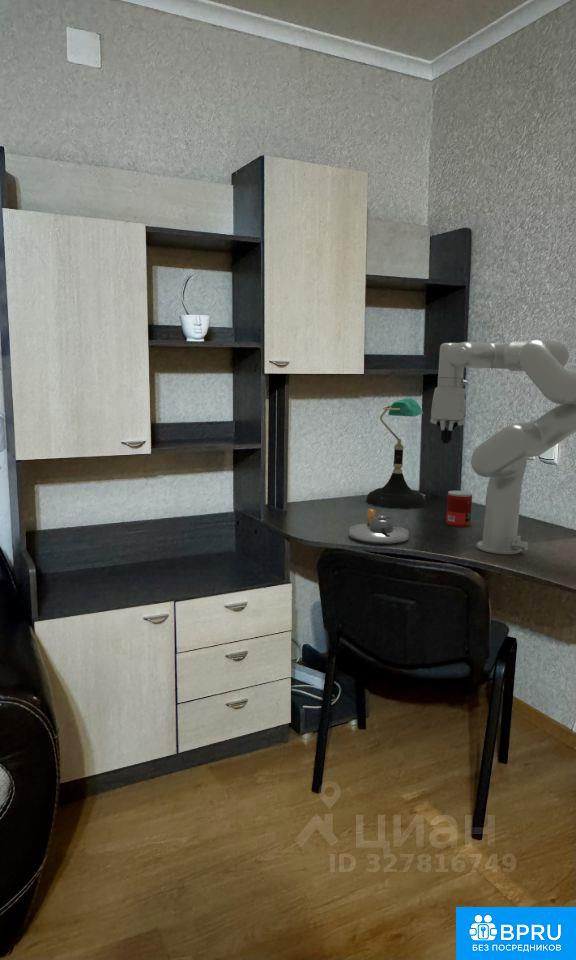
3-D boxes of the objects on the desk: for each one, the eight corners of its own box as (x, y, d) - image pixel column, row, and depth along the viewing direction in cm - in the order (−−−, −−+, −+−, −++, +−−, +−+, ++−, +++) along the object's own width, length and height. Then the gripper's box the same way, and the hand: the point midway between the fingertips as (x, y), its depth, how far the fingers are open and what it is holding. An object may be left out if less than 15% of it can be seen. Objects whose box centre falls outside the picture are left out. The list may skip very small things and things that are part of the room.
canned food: (470, 527, 231) (473, 495, 229) (446, 526, 232) (448, 493, 230) (469, 522, 238) (471, 491, 236) (445, 521, 240) (447, 489, 238)
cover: (388, 527, 217) (389, 513, 216) (396, 532, 210) (396, 518, 209) (366, 527, 215) (367, 513, 215) (374, 533, 209) (374, 518, 208)
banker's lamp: (421, 512, 253) (427, 402, 247) (359, 506, 260) (364, 399, 254) (430, 499, 278) (436, 399, 271) (373, 494, 285) (378, 396, 279)
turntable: (394, 528, 224) (395, 507, 223) (417, 542, 207) (419, 520, 205) (341, 529, 219) (342, 508, 218) (360, 544, 202) (361, 521, 201)
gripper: (476, 384, 214) (472, 443, 217) (428, 382, 220) (424, 440, 223) (473, 384, 207) (469, 445, 211) (423, 383, 213) (419, 442, 216)
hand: (446, 442), depth 217 cm, fingers closed
